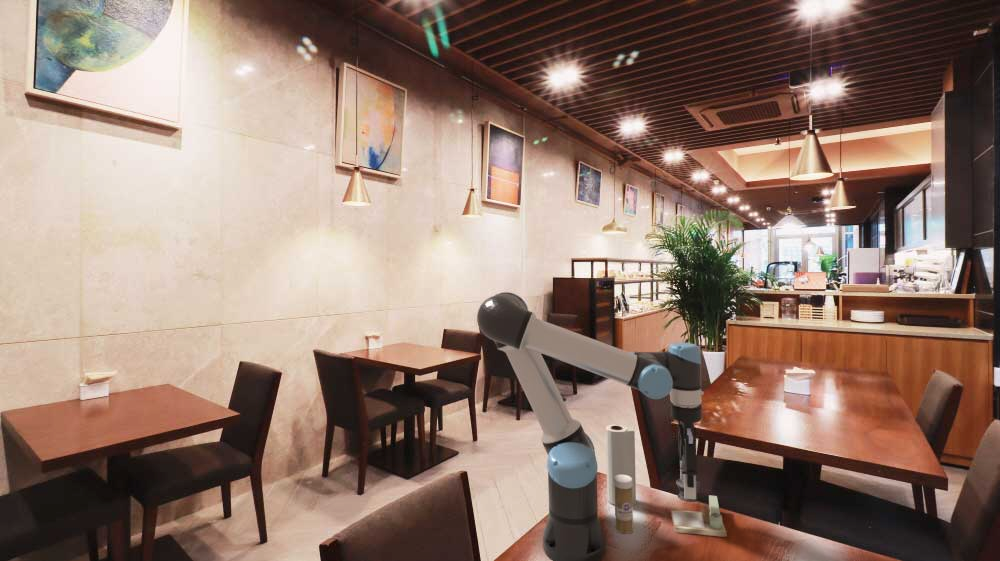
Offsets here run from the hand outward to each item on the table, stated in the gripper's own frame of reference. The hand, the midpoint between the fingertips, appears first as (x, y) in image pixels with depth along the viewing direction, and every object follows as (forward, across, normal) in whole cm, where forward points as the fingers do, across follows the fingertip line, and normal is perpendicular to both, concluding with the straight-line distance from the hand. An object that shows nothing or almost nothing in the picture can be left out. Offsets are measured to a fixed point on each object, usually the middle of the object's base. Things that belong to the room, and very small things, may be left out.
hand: (688, 491), depth 122 cm
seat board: (+8, 0, -2) cm, 9 cm away
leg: (+7, +2, -7) cm, 10 cm away
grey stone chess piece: (+2, 0, 0) cm, 2 cm away
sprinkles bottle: (+9, -6, +16) cm, 19 cm away
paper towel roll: (+9, +8, +17) cm, 21 cm away
